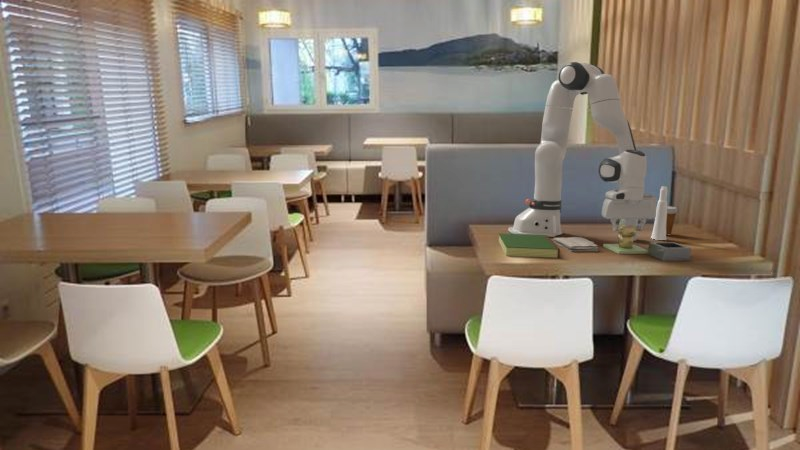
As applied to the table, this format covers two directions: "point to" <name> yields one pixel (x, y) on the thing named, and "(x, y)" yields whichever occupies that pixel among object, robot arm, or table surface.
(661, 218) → the cosmetic bottle
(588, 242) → the washcloth
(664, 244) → the box
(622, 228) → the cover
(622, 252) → the pad
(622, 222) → the syrup box
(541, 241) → the hardcover book
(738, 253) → the table surface
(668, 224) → the disposable coffee cup
